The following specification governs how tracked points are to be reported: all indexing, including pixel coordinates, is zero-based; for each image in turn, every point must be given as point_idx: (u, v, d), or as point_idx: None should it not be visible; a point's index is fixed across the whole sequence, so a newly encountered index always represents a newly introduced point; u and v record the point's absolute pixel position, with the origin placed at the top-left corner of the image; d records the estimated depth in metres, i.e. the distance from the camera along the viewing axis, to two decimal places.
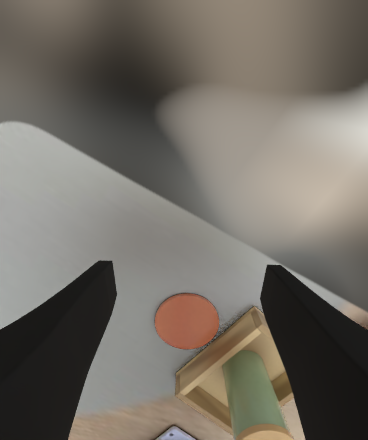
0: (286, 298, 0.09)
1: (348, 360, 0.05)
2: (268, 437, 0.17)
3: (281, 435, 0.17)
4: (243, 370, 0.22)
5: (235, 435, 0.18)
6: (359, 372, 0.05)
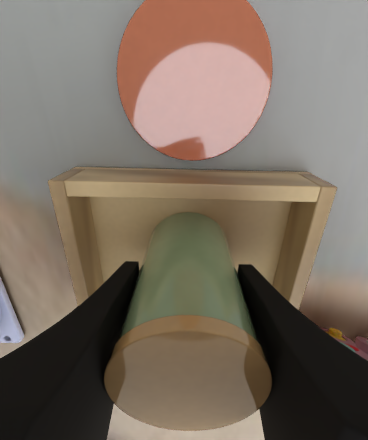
0: (251, 297, 0.09)
1: (294, 358, 0.05)
2: (237, 366, 0.06)
3: (262, 379, 0.06)
4: (214, 238, 0.10)
5: (149, 314, 0.06)
6: (300, 370, 0.05)
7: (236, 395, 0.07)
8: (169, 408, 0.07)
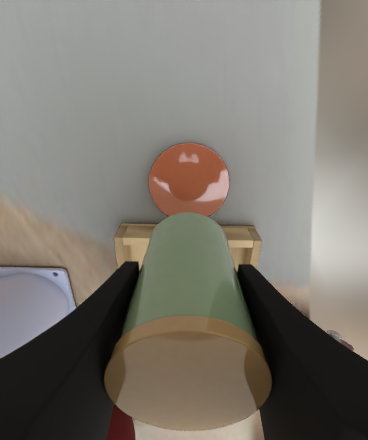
0: (251, 297, 0.09)
1: (294, 358, 0.05)
2: (237, 366, 0.06)
3: (262, 379, 0.06)
4: (214, 238, 0.10)
5: (149, 314, 0.06)
6: (301, 371, 0.05)
7: (236, 395, 0.07)
8: (169, 408, 0.07)
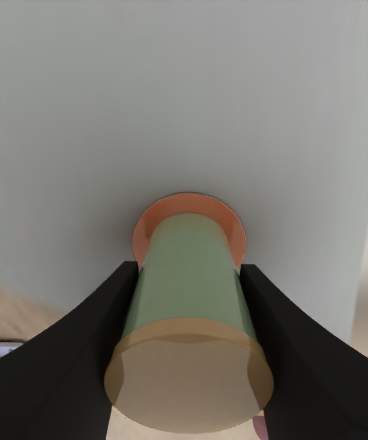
0: (255, 297, 0.09)
1: (299, 359, 0.05)
2: (238, 368, 0.06)
3: (264, 381, 0.06)
4: (215, 239, 0.10)
5: (150, 316, 0.06)
6: (305, 370, 0.05)
7: (237, 398, 0.07)
8: (170, 411, 0.07)
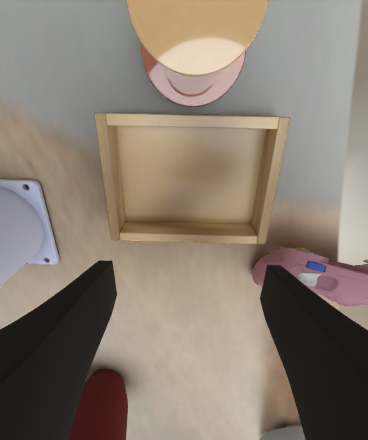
0: (286, 298, 0.09)
1: (348, 360, 0.05)
2: None
3: None
4: None
5: None
6: (358, 372, 0.05)
7: (239, 0, 0.08)
8: (180, 29, 0.08)
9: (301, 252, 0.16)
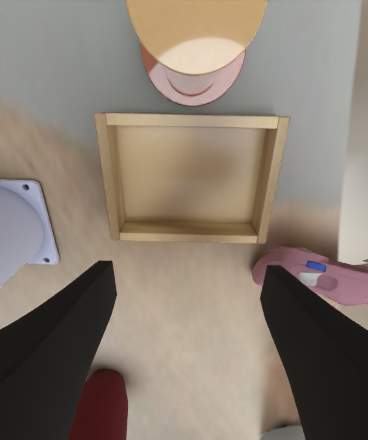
0: (286, 298, 0.09)
1: (348, 360, 0.05)
2: None
3: None
4: None
5: None
6: (358, 372, 0.05)
7: None
8: (180, 28, 0.08)
9: (301, 252, 0.16)
